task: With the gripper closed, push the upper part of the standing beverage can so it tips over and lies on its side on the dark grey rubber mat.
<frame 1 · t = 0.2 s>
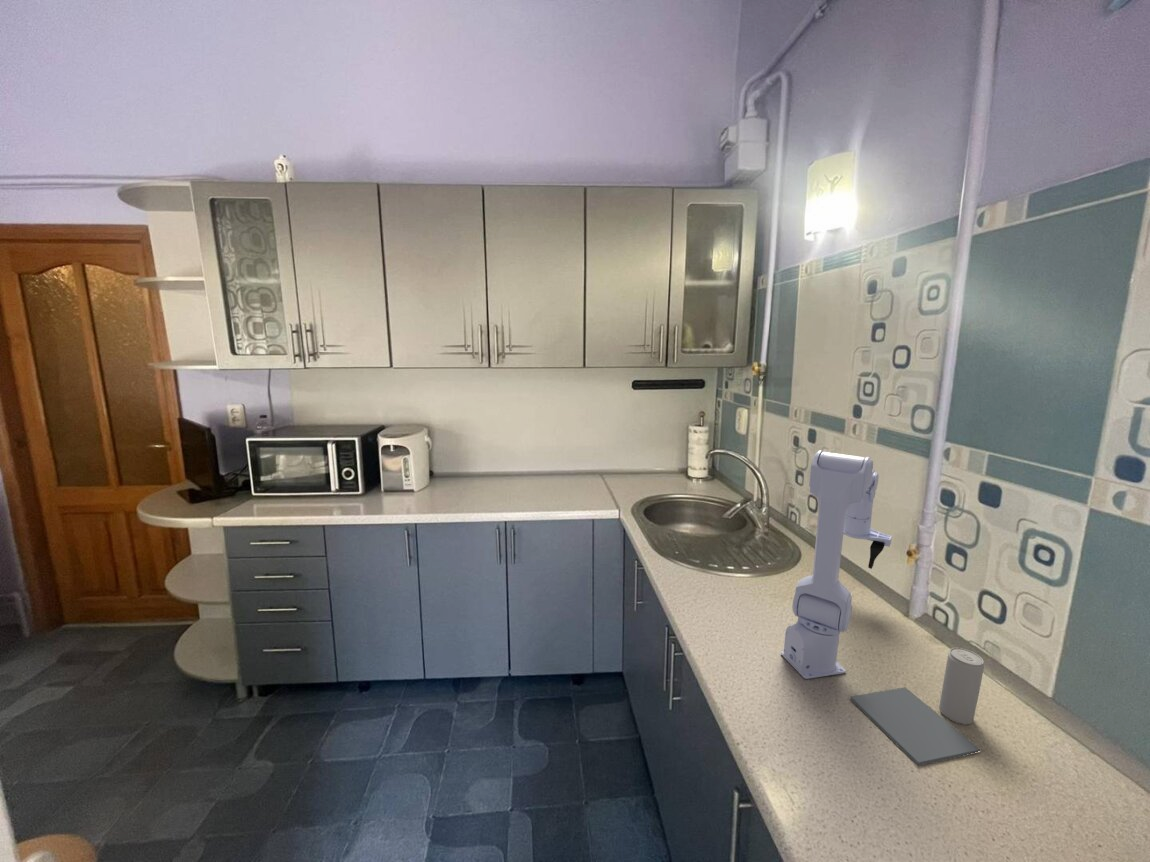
hand: (853, 561, 118), 11 cm above the countertop, tool pointing down, fingers open, 7 cm apart
beverage can: (955, 716, 83), on the countertop
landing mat: (910, 724, 81), on the countertop
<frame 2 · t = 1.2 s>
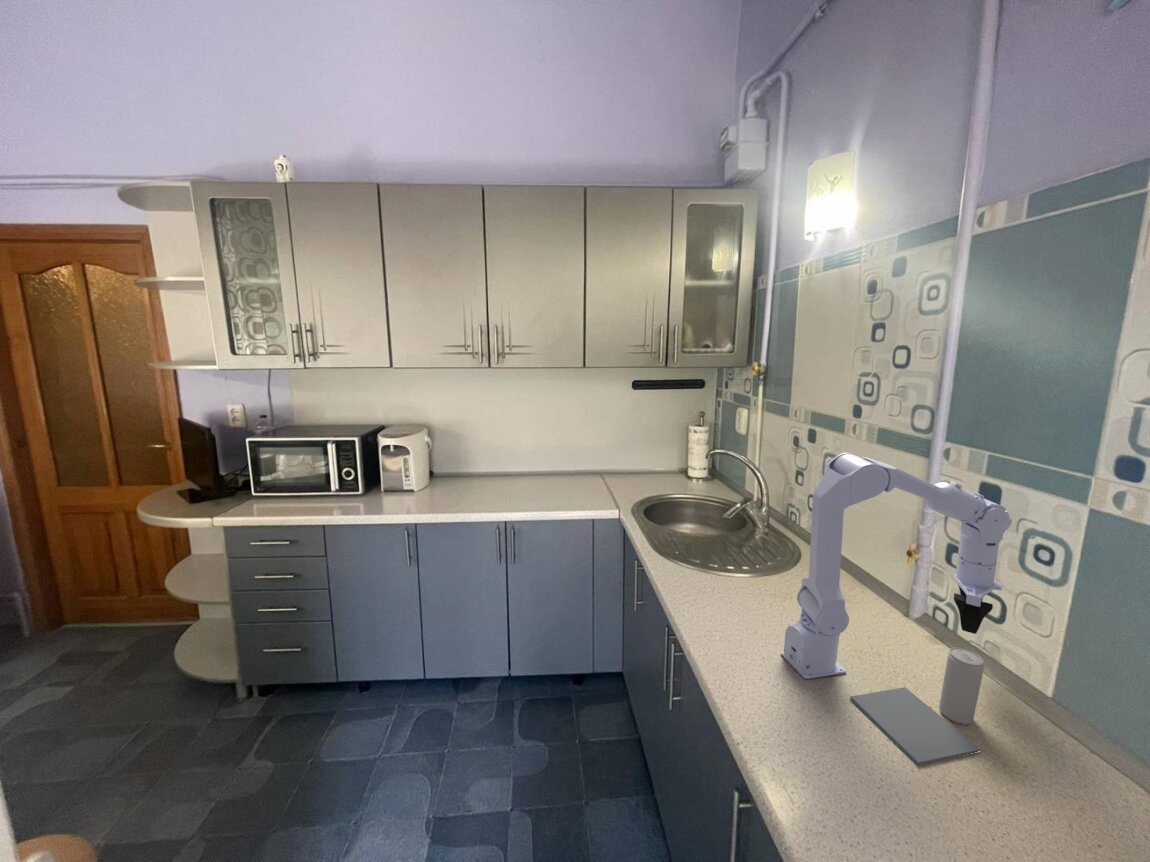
hand: (969, 621, 93), 10 cm above the countertop, tool pointing down, fingers open, 7 cm apart
nothing on the countertop moved.
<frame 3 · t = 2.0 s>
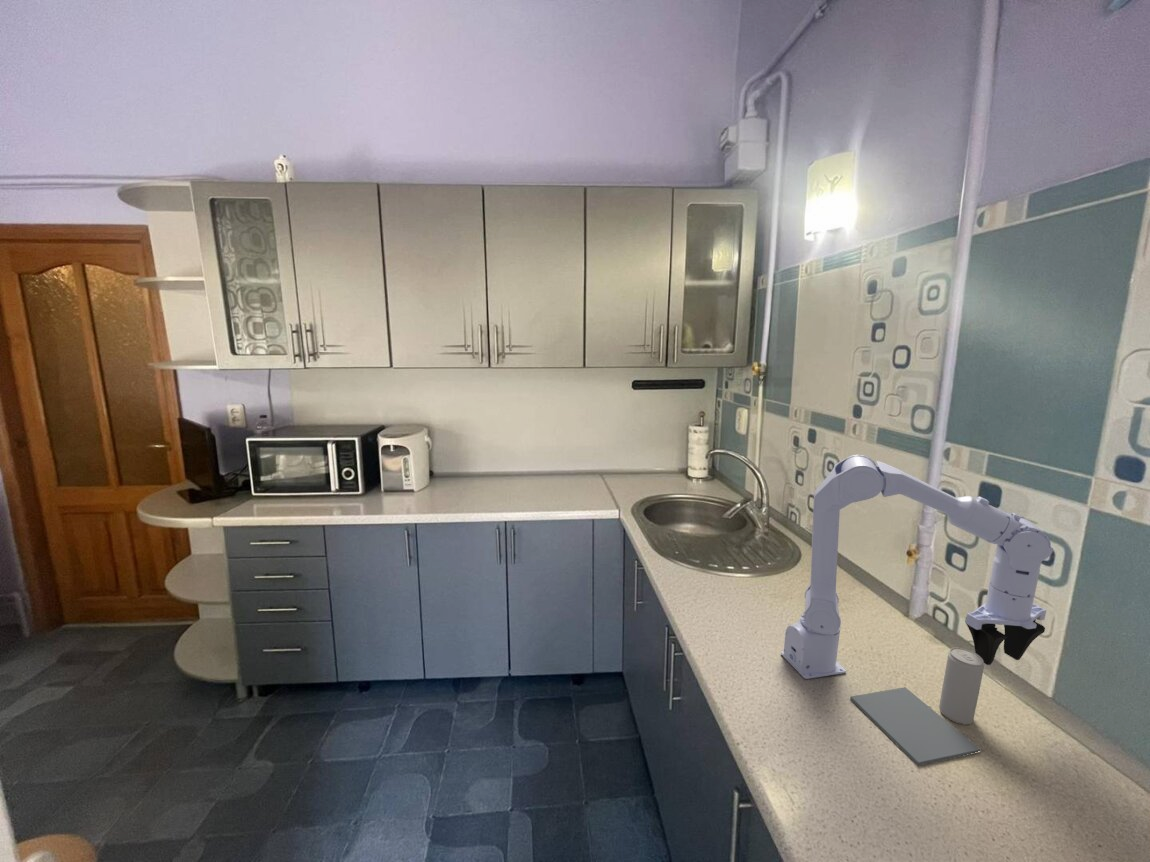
hand: (997, 658, 82), 10 cm above the countertop, tool pointing down, fingers open, 6 cm apart
nothing on the countertop moved.
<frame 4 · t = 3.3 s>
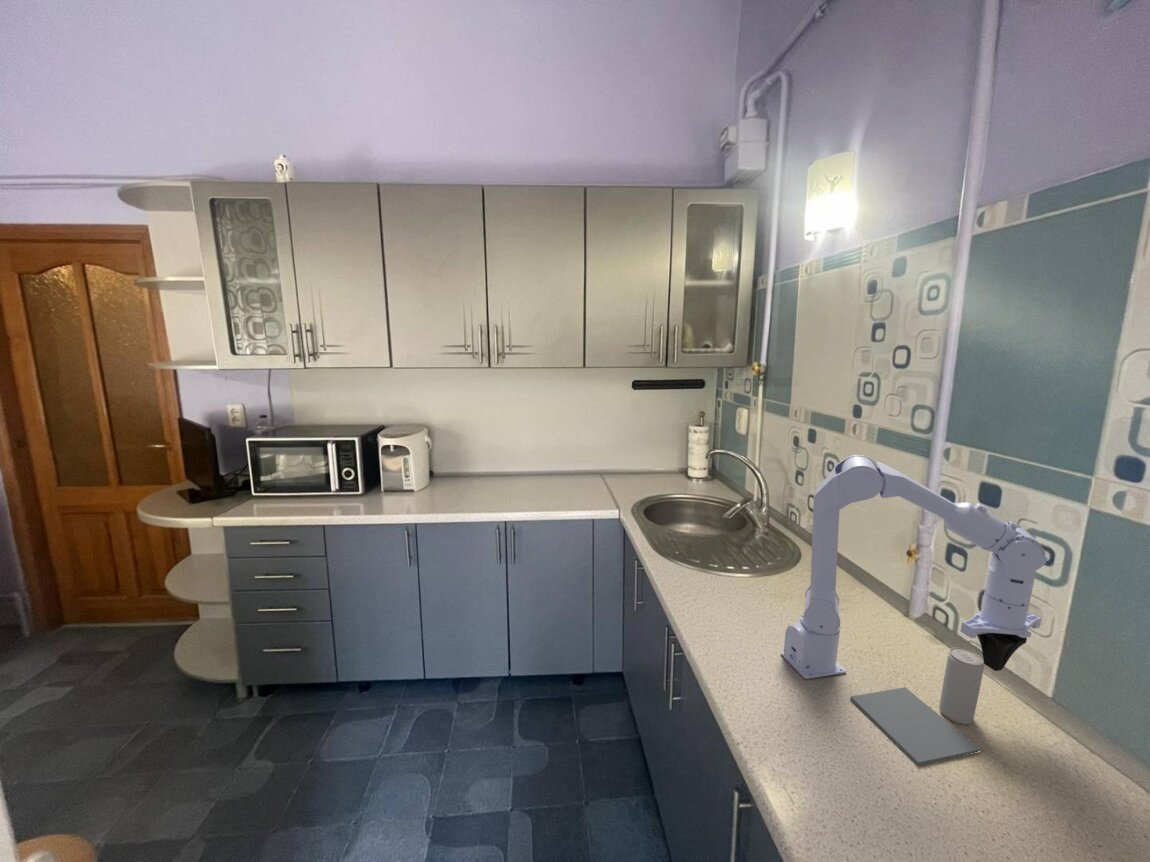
hand: (992, 666, 83), 9 cm above the countertop, tool pointing down, fingers closed
nothing on the countertop moved.
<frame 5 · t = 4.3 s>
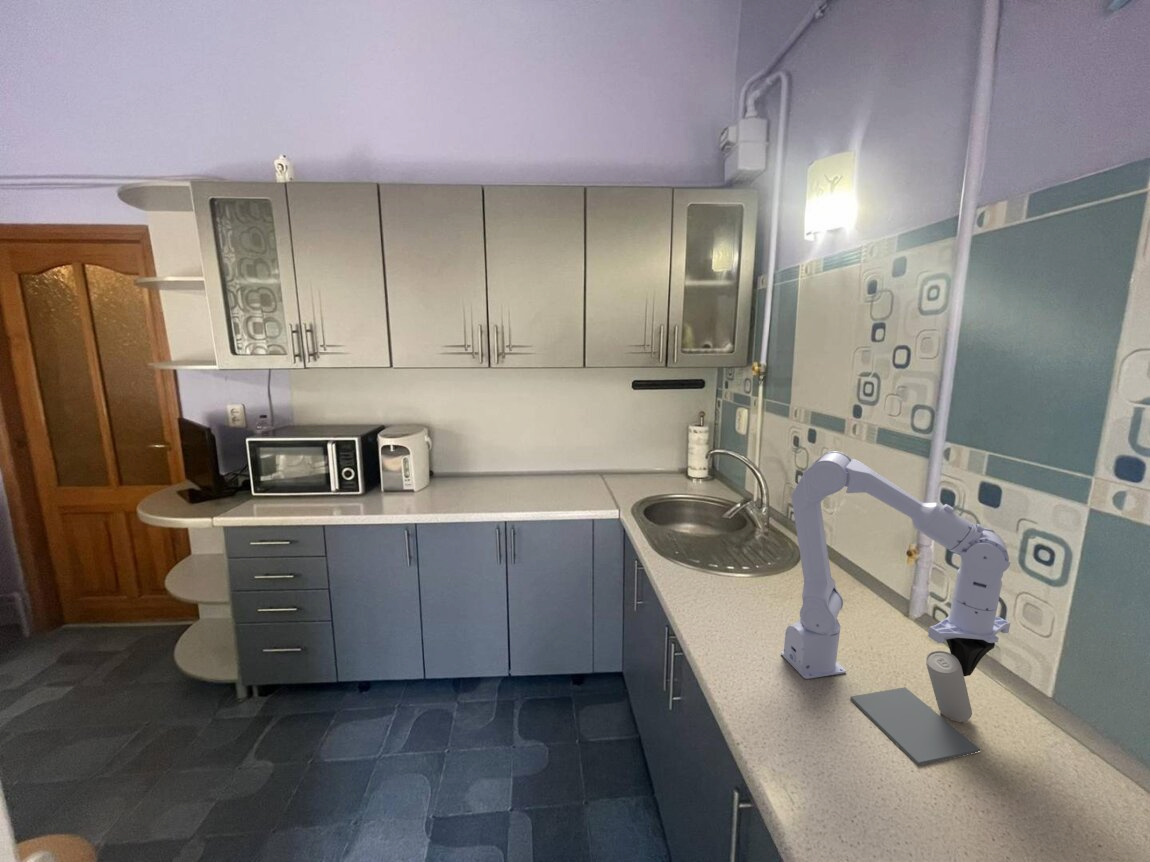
hand: (961, 671, 81), 9 cm above the countertop, tool pointing down, fingers closed
beverage can: (955, 711, 83), point 1 cm above the countertop
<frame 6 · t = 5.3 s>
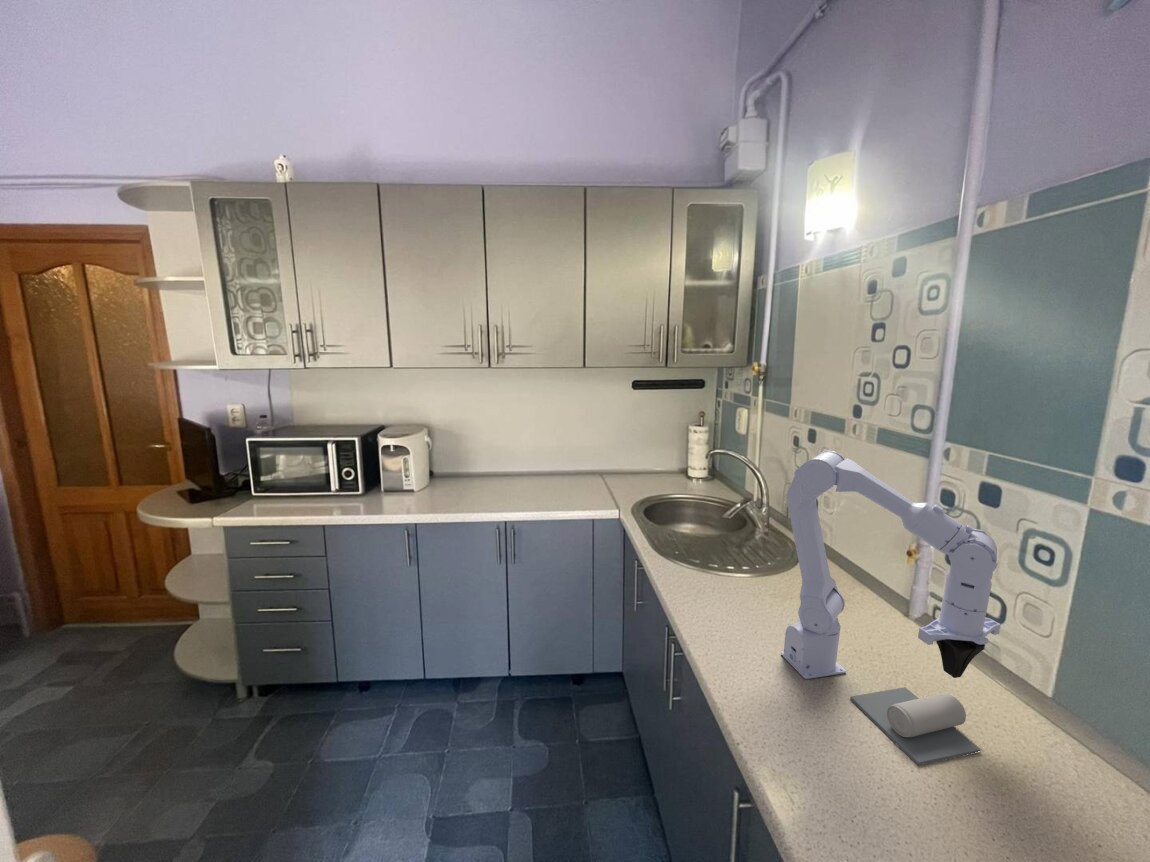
hand: (951, 673, 81), 9 cm above the countertop, tool pointing down, fingers closed
beverage can: (955, 707, 81), point 3 cm above the countertop, touching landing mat
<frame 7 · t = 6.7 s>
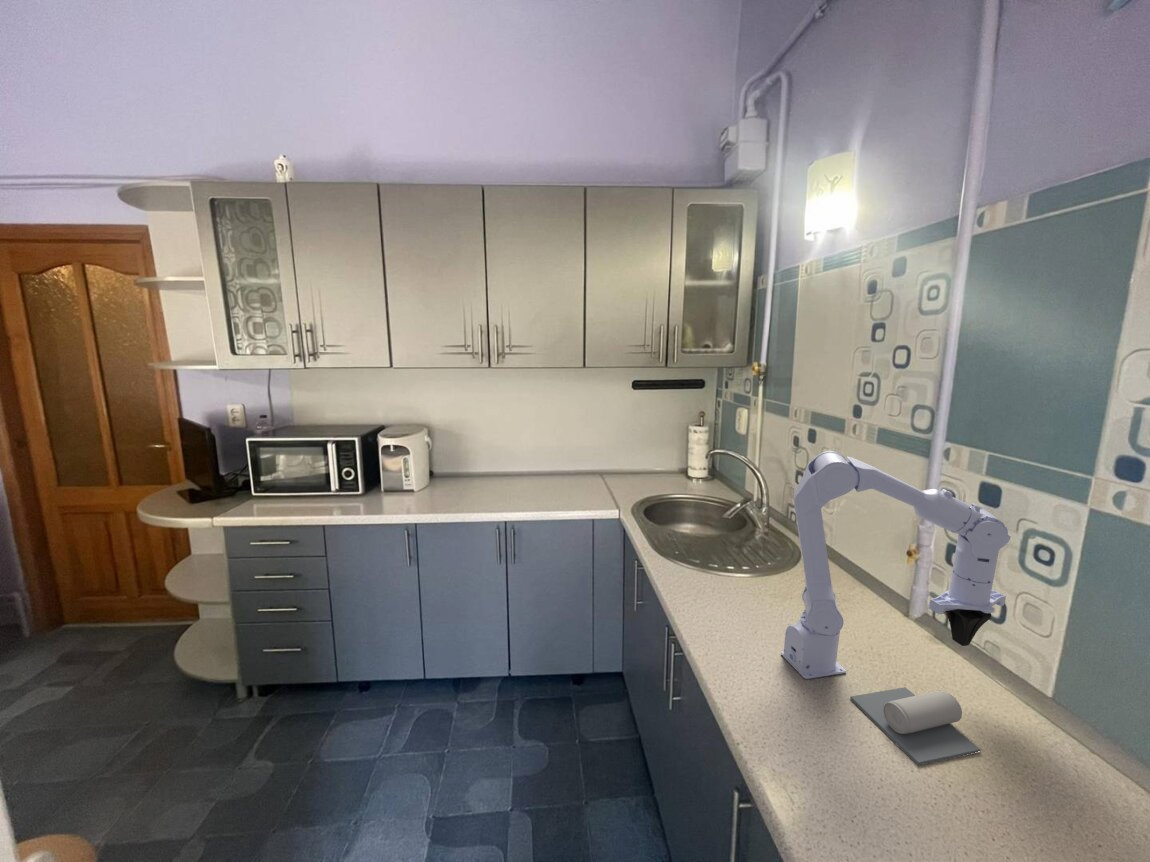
hand: (960, 642, 87), 10 cm above the countertop, tool pointing down, fingers closed
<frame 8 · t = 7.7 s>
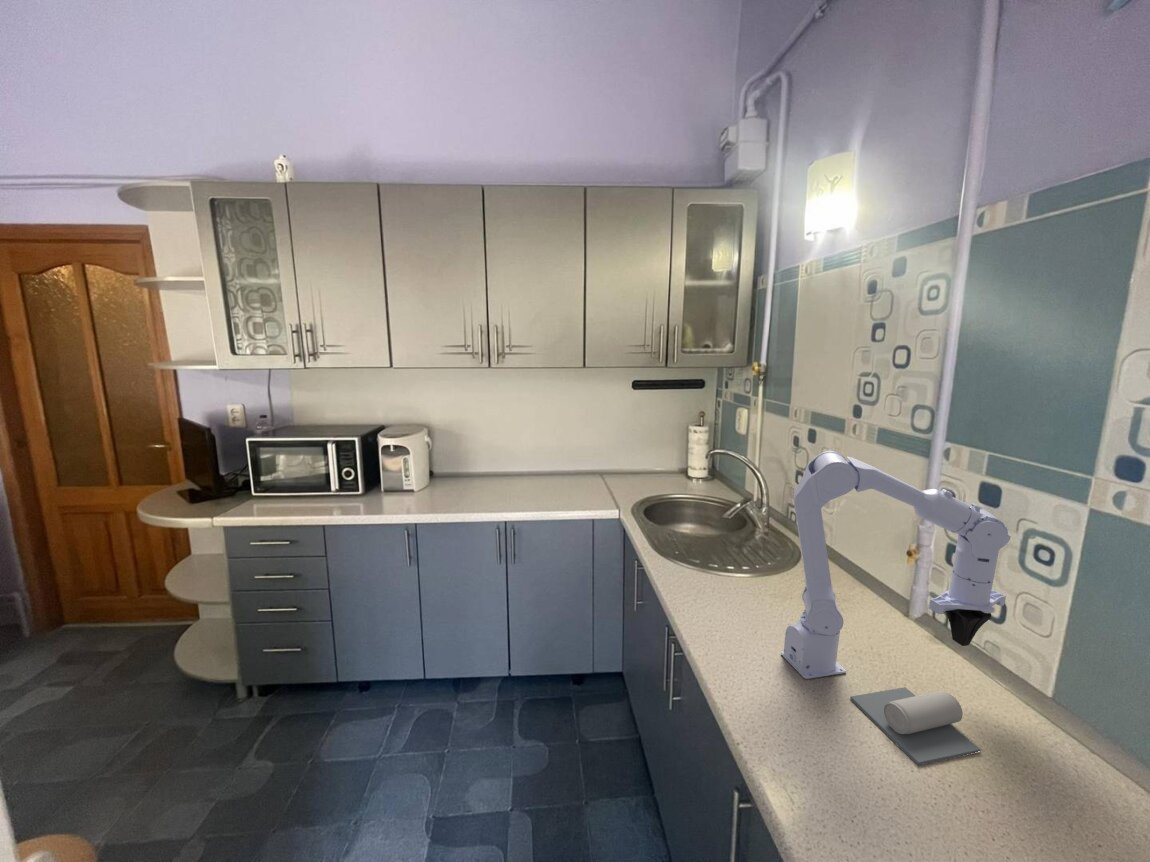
hand: (960, 642, 87), 10 cm above the countertop, tool pointing down, fingers closed
nothing on the countertop moved.
at the end: beverage can tilted 90°; beverage can touching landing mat; beverage can inside the target area (4.9 cm from its centre), point 2.9 cm above the countertop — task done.
